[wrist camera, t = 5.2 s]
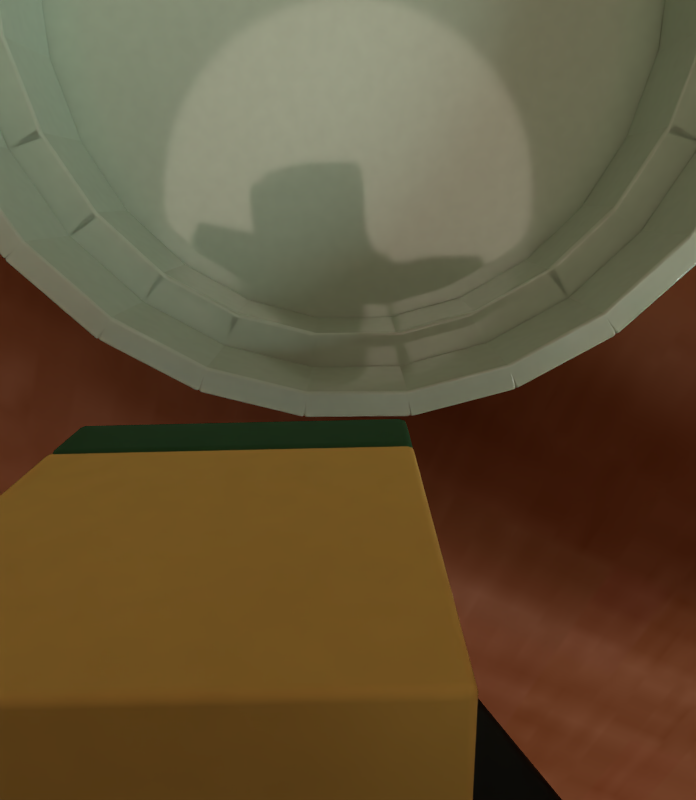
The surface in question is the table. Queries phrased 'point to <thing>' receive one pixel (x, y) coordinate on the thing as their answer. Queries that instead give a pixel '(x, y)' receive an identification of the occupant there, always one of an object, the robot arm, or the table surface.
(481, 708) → the robot arm
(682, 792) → the table surface
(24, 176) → the bowl
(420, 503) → the sponge
